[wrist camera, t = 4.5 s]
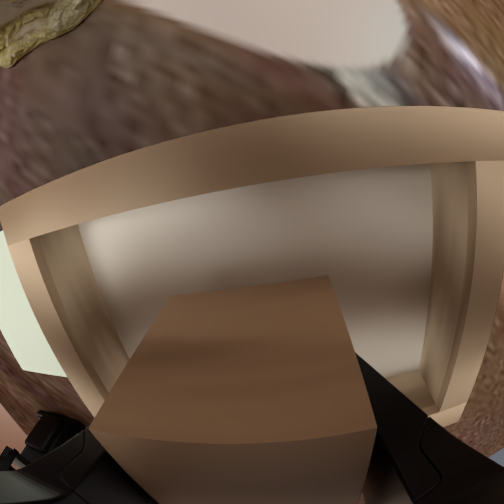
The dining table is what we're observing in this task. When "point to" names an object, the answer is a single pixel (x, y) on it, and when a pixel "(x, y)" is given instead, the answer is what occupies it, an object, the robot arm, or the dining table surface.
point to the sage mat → (22, 321)
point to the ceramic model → (37, 24)
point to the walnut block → (244, 400)
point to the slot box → (282, 239)
